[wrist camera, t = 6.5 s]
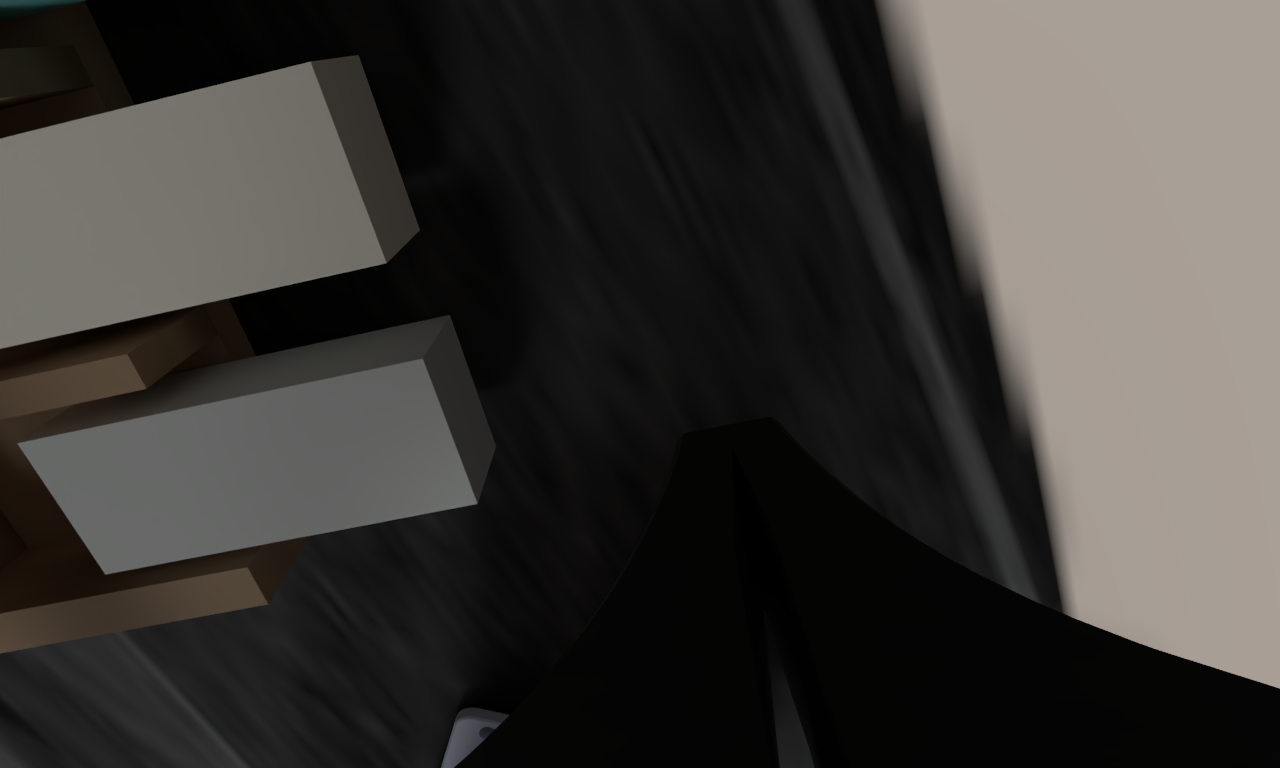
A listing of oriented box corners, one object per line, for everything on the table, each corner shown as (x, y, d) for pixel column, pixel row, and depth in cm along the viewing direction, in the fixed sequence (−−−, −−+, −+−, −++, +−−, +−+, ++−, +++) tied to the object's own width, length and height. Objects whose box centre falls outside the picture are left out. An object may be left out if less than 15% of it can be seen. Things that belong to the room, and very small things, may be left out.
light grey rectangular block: (450, 314, 15) (422, 358, 13) (495, 446, 17) (477, 504, 15) (92, 391, 16) (16, 443, 14) (164, 511, 18) (105, 574, 16)
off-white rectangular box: (358, 54, 13) (310, 61, 11) (420, 229, 15) (386, 263, 13) (-49, 155, 14) (-162, 178, 12) (46, 313, 15) (-40, 357, 13)
